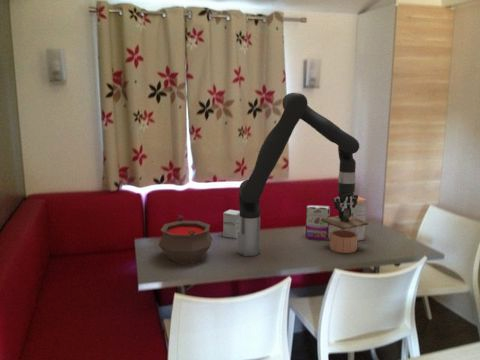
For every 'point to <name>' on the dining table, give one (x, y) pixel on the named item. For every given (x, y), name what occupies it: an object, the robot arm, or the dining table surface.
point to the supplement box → (231, 223)
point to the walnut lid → (344, 221)
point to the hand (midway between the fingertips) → (344, 217)
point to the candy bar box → (317, 222)
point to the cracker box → (359, 217)
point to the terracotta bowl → (343, 241)
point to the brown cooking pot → (185, 240)
